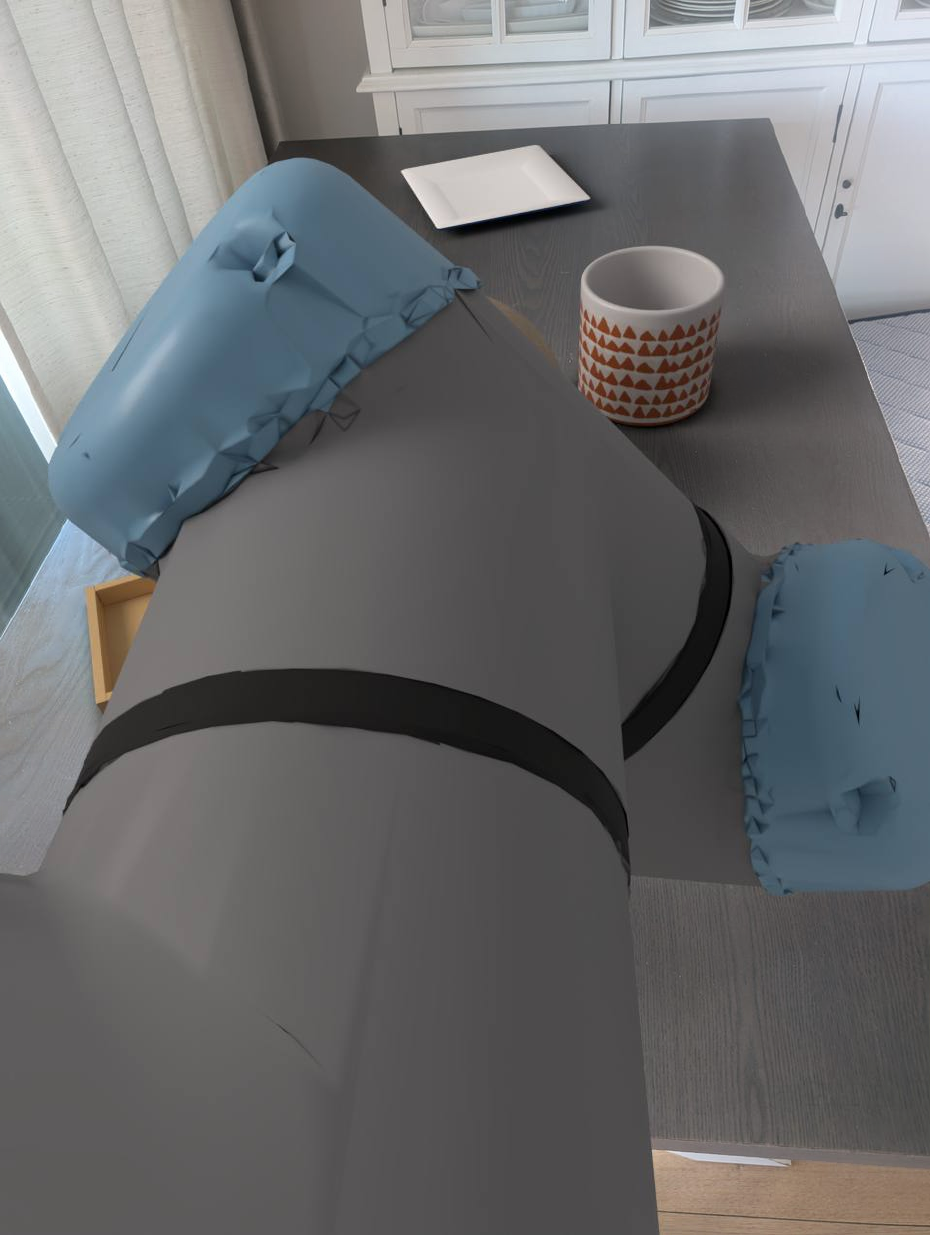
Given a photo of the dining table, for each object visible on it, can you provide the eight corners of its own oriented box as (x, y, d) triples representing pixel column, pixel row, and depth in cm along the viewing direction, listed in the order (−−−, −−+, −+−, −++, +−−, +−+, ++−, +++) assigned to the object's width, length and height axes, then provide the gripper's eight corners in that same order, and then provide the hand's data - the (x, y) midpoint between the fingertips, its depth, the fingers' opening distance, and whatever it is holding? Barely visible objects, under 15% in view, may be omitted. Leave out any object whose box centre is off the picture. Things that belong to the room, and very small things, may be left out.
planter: (611, 441, 90) (618, 325, 80) (558, 374, 99) (559, 262, 90) (733, 408, 92) (753, 292, 83) (670, 345, 101) (682, 234, 92)
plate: (590, 212, 126) (591, 197, 125) (438, 242, 123) (437, 227, 122) (538, 157, 141) (538, 143, 140) (401, 182, 138) (400, 168, 137)
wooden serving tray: (108, 724, 70) (95, 703, 68) (96, 608, 79) (85, 587, 77) (289, 667, 73) (283, 645, 71) (258, 561, 81) (251, 540, 80)
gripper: (425, 1188, 26) (154, 1042, 42) (612, 506, 37) (339, 596, 53) (206, 1137, 23) (-1, 998, 39) (485, 394, 33) (232, 528, 49)
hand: (195, 766), depth 46 cm, fingers open, 13 cm apart
